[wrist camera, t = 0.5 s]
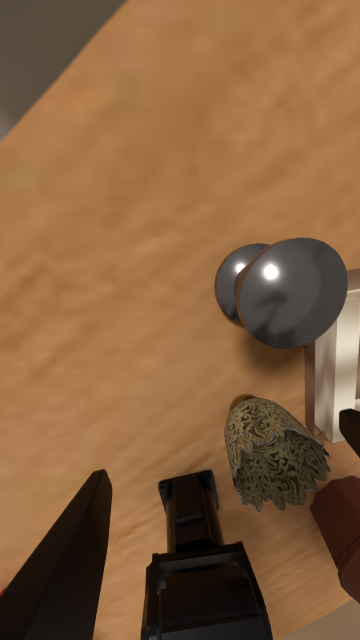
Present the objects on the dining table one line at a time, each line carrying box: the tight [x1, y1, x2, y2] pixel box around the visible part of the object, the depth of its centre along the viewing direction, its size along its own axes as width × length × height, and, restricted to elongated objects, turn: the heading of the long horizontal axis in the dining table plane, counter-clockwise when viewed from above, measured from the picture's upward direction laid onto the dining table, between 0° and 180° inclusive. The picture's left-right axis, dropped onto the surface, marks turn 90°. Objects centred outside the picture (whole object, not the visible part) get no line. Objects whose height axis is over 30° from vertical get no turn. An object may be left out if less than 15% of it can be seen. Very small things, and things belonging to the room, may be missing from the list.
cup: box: [225, 394, 331, 512], centre depth 20 cm, size 8×7×8 cm
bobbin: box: [214, 238, 348, 349], centre depth 17 cm, size 7×7×6 cm
